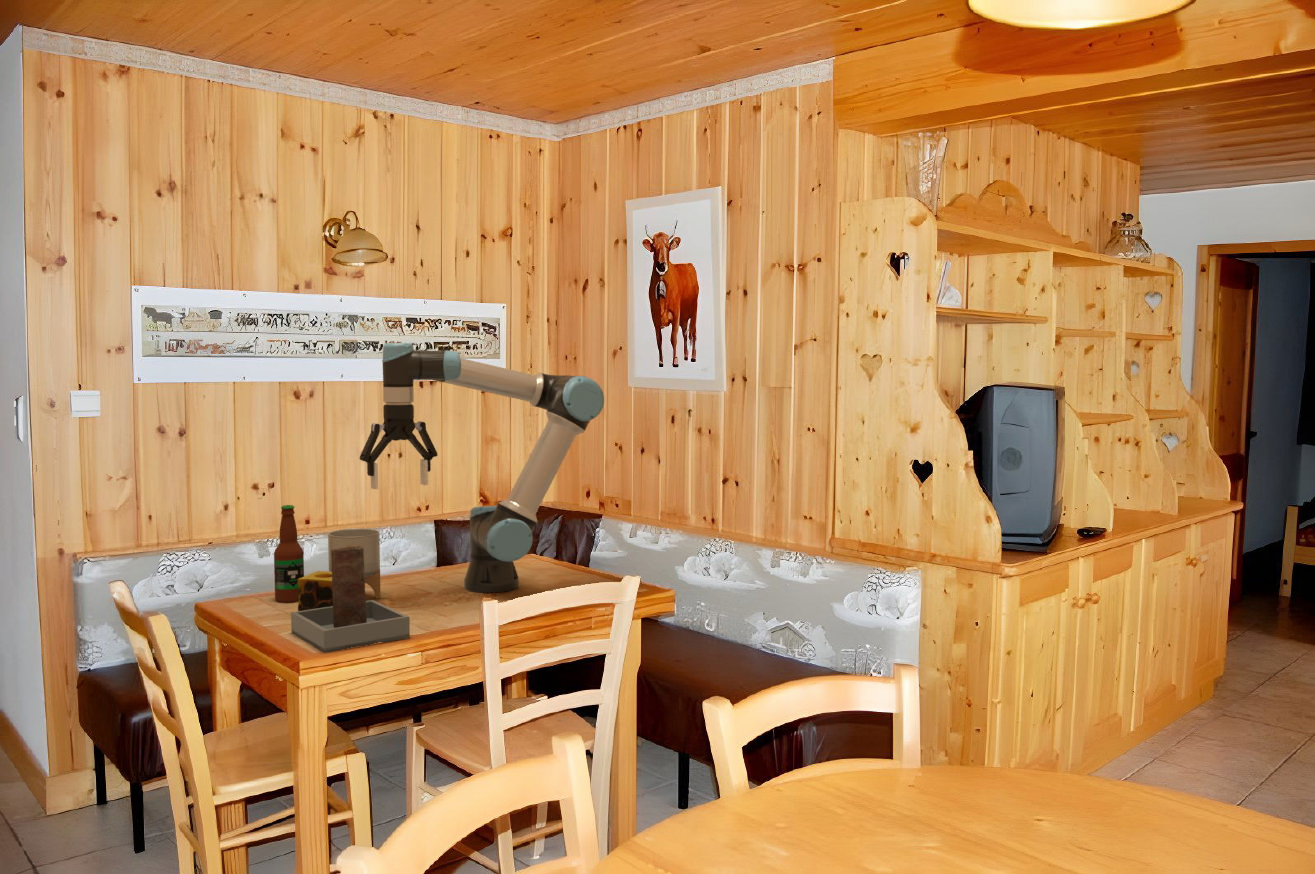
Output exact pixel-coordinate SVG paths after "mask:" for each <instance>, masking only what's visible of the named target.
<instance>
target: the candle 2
mask: <svg viewBox="0 0 1315 874" xmlns="http://www.w3.org/2000/svg"><path fill="white" fill-rule="evenodd" d="M331 563H332V591H333V625H334V628H338V627H344V626H350V625H356V624H362V623H367V617H366V601H367V598H366V583H365V574H364V550H363V547H362V546H357V545H348V546H347V547H343V548H338V549H331Z"/></svg>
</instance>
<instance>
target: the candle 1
mask: <svg viewBox="0 0 1315 874" xmlns="http://www.w3.org/2000/svg"><path fill="white" fill-rule="evenodd" d="M298 585H299V592H298V594H299V602H298V606H297V611H304V610H311V609H317V608H324V607H330V606H333V591H332V572H330V571H329V570H328V571H327V570H317V571H315V572H312V573H309V574H307V575H304V577H302V578H299V579H298Z"/></svg>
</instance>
